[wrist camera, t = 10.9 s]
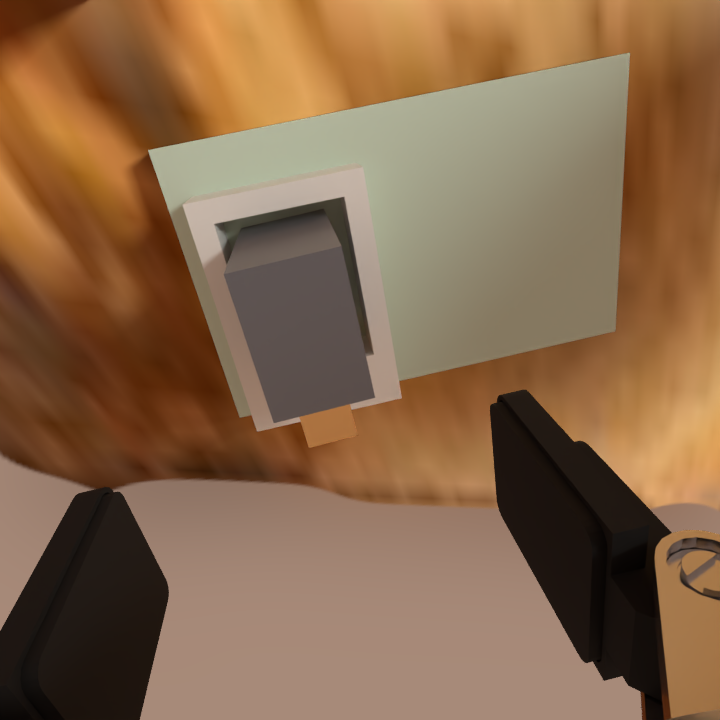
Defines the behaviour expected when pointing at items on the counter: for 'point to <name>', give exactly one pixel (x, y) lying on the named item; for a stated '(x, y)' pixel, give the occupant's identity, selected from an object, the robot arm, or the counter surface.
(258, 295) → the plug
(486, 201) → the board
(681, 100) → the counter surface
